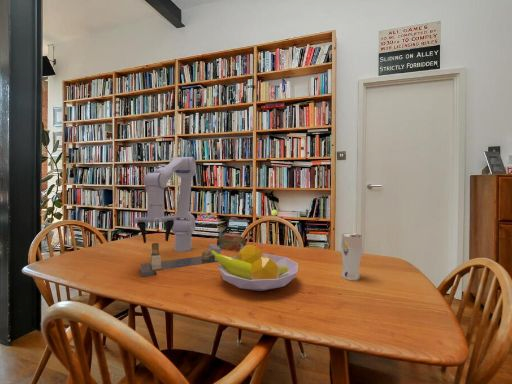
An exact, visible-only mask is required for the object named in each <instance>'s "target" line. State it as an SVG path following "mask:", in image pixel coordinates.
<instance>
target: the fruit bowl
mask: <svg viewBox="0 0 512 384" xmlns="http://www.w3.org/2000/svg"><path fill="white" fill-rule="evenodd" d="M211 253H212V254H213V255H214V256H215V259H216V260H217V261H218V262H217V263H218V264H219V265H218V266H217V268H218V271H219V272H220V274H221V276H222V278H223V281H225V282H227V283H229V284H231V285H233V286H235V287H237V288H239V289H245V290H250V291H258V292H264V291H265V292H266V291H268V290H272V289H278V288H282V287H283V288H284V287H285V286H286V285H288V284H289V283H290V282H291V281H293V279H295V278H296V276H297V274H298V269H299V268H298V267H299V263H298V262H296V261H294V260H292V259H291V258H288V257H286V256H282V255H275V254H271V253H270V254H269V253H263V252H262V250H261V249H260V248H259V247H257V246H256V245H251V244H250V245H249V244H247V245H245V246H244V247H243V248H242V249H240V251H239V252H238V253H237V254H236V255H235V256H232V257H231V256H228V255H224V254H222V253H221V254H217V253H216V252H215V251H214V250H212V251H211Z"/></svg>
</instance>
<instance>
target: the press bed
mask: <svg viewBox="0 0 512 384" xmlns="http://www.w3.org/2000/svg"><path fill="white" fill-rule="evenodd" d="M208 250H209V251H210V252H211V251H212V250H214V251H215V252H216V253H217V254H221V255H222V251H221V250H222V249H221V248H220V247H218V246H217V243H209V244H208ZM213 263H219V262H218V261H217V260H216V259H215V256H214V255H213V254H212V253H211V260H208V261H204V260H202V255H200V256H193V257H186V258H178V259H170V260H161V269H156V270H152V267H151V264H150V262H148V263H147V262H146V263H140V266H139V267H140V274H141V277H142V278H143V277H149V276H155V275H158V274H157V271H164V270H170V269H176V268H177V269H178V268H185V267H193V266H198V265H206V264H207V265H208V264H213Z"/></svg>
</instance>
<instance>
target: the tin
mask: <svg viewBox="0 0 512 384" xmlns="http://www.w3.org/2000/svg"><path fill="white" fill-rule="evenodd" d="M216 245H217V246H218V247H220V248H221V250H226V251H230V252H231V251H233V252H238V253H239V251H240V249H242V248H243V247H244V246H245V245H248V243H247V240H246V239H245V238H244V237H243V236H241V235H233V234H222V235H220V236H219V237H218V238H217V240H216Z"/></svg>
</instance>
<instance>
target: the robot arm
mask: <svg viewBox="0 0 512 384" xmlns="http://www.w3.org/2000/svg"><path fill="white" fill-rule="evenodd" d="M196 166H197V162H196V159H195V158H194V156H173V157H171V158H170V161H169V163H168V164H161V165H160V167H158V168H156V169H155V171H153V172H148V173H147V174H146V175H144V180H143V184H144V187H145V192H146V194H147V198H146V199H147V200H146V201H147V202H146V203H147V216H140V217H138V216H137V217H134V219H133V220H134V221H133V223H134V224H137V226H138V228H139V230H140V232H141V235H142V240H143V244H146V243H147V237H146V231H147V230H146V229H147V228H146V226H147V225H146V223H164V224H165V235H164V238H165V239H164V240H165V242H168V241H169V237H170V233H171V232H172V233H173V235H174V249H172V251H175V252H179V253H181V252H189V251H192V233H194V232H195V229H196V218H195V216H194V215H193V214H192V213H191V212H190V206H191V194H192V191H191V190H192V180H193V177H194V176H196V169H197V167H196ZM174 174H176V176H177V177H179V178H180V185H179V198H178V199H179V200H178V210H177V212H176V213H175V214H174V215H165V188H167V185H168V182H169V180H170V179H171V178H173V176H174Z"/></svg>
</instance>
